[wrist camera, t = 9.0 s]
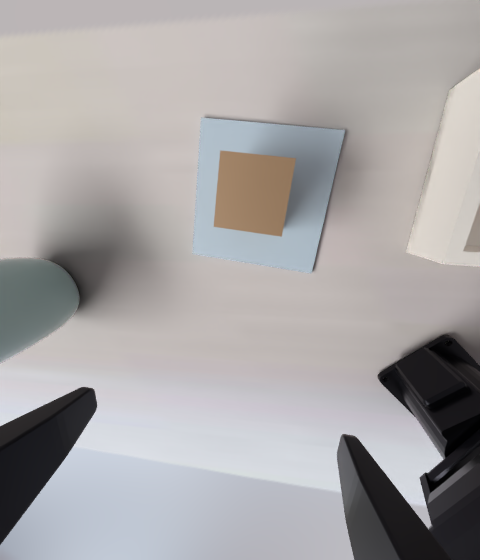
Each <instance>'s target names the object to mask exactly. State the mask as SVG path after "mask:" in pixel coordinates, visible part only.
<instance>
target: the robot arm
mask: <svg viewBox="0 0 480 560" xmlns="http://www.w3.org/2000/svg"><path fill="white" fill-rule="evenodd" d="M448 340H449V341H448ZM446 341H448V342H447V343H445V342H446ZM385 377H387V378H386V379H383V378H385ZM378 379H379V381H380V382H381V383H382V384H383V385H384V386H385V387H386V388H387V389H388V390H389V391H390V392H391V393H392V394H393V395H394V396H395V397H396V398H397V399H398V400H399V401H400V402H401V403H402V404H403V405H404V406H405V407H406V408H407V409H408V410H409V411H410V412H411V413H412V414H413V415H414V416H415V417H416V418H417V420H418V421H419V423H420V424H421V426H422V427H423V429H424V430H425V432H426V433H427V435H428V436H429V438H430V439H431V441H432V442H433V444H434V445H435V447H436V448H437V450H438V451H439V453H440V454H441V456H442V457H443V459H444V460H442V461H441V462H440V463H439V464H438V465H437V466H436V467H434V468H433V469H432V470H431V471H430V472H429V473H424V474H423V475H422V476H421V477H420V481H421V485H422V489H423V493H424V497H425V501H426V505H427V509H428V512H429V516H430V520H431V524H432V526H430V528H429V529H428V528H427V527H426V526H425V524H424V523H423V522H422V520H421V519H420V518H419V517H418V515H417V514H416V513H415V511H414V510H413V509H412V508H411V506H410V505H409V504H408V502H407V501H406V500H405V499H404V497H403V496H402V495H401V493H400V492H399V491H398V490H397V488H396V487H395V486H394V485H393V483H392V482H391V481H390V479H389V478H388V477H387V476H386V474H385V473H384V472H383V470H382V469H381V468H380V467H379V465H378V464H377V463H376V461H375V460H374V459H373V458H372V456H371V455H370V454H369V452H368V451H367V450H366V449H365V447H364V446H363V445H362V443H361V442H360V441H359V440H358V438H357V437H355V436H352V435H347V434H343V435H342V436H341V439H340V443H339V447H338V451H337V462H338V469H339V476H340V483H341V490H342V497H343V504H344V512H345V518H346V524H347V529H348V534H349V537H350V542H351V547H352V551H353V555H354V560H480V366H479V365H478V364H477V363H476V361H475V360H474V359H473V358H472V357H471V356H470V355H469V354H468V353H467V352H466V351H465V350H464V349H463V348H462V347H461V345H460V344H459V343H458V342H457V341H456V340H455V339H453V338H452V337H451V336H449V335H443V336H441V337H439V338H437V339H436V340H434V341H432V342H431V343H429V344H427V345H426V346H424V347H422V348H421V349H419V350H417V351H416V352H414V353H412V354H411V355H409V356H407V357H406V358H404V359H402V360H401V361H399V362H397V363H396V364H394V365H392V366H391V367H389V368H387V369H386V370H384V371H382V372H381V373H379V374H378ZM96 409H97V401H96V396H95V391H94V389H93V388H88V387H81V388H79V389H77V390H75V391H73V392H71V393H68V394H66V395H64V396H62V397H60V398H58V399H56V400H54V401H52V402H50V403H48V404H46V405H44V406H41V407H39V408H37V409H35V410H33V411H31V412H29V413H27V414H25V415H23V416H21V417H19V418H16V419H14V420H12V421H10V422H8V423H6V424H4V425H2V426H0V544H1V543H2V542H3V541H4V539H5V538H6V537H7V535H8V534H9V532H10V531H11V530H12V529H13V527H14V526H15V525H16V523H17V522H18V521H19V519H20V518H21V517H22V515H23V514H24V513H25V511H26V510H27V509H28V507H29V506H30V505H31V503H32V502H33V501H34V499H35V498H36V497H37V495H38V494H39V493H40V491H41V490H42V489H43V487H44V486H45V485H46V483H47V482H48V481H49V479H50V478H51V477H52V475H53V474H54V473H55V471H56V470H57V469H58V467H59V466H60V465H61V463H62V462H63V461H64V459H65V458H66V456H67V455H68V453H69V452H70V450H71V449H72V447H73V446H74V444H75V443H76V441H77V440H78V438H79V436H80V435H81V433H82V432H83V430H84V429H85V427H86V426H87V424H88V422H89V421H90V419H91V418H92V416H93V415H94V413H95V411H96Z"/></svg>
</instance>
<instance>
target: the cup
mask: <svg viewBox="0 0 480 560" xmlns="http://www.w3.org/2000/svg"><path fill="white" fill-rule="evenodd" d="M79 301H80V296H79V291H78V288H77V286H76V284H75V282H74V280H73V278H72V277H71V276H70V274H69V273H68V272H67V271H66V270H65V269H63V268H62V267H61V266H59V265H58V264H56V263H54V262H51V261H48V260H45V259H40V258H26V257H18V258H4V259H0V364H1V363H3V362H5V361H6V360H8V359H10V358H12V357H14V356H15V355H17V354H19V353H21V352H23V351H24V350H26V349H28V348H30V347H31V346H33V345H35V344H36V343H38V342H40V341H41V340H43V339H45V338H46V337H48V336H49V335H51V334H53V333H54V332H55V331H57V330H58V329H60V328H61V327H62V326H63V325H64V324H66V323H67V322H68V321H69V320H70V319H71V318H72V317H73V315H74V314H75V312H76V310H77V309H78V305H79Z"/></svg>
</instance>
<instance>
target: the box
mask: <svg viewBox="0 0 480 560" xmlns="http://www.w3.org/2000/svg"><path fill="white" fill-rule="evenodd" d="M406 252H407V253H410V254H413V255H416V256H419V257H422V258H425V259H428V260H432V261H435V262H438V263H441V264H448V265H462V266H475V267H480V69H478V70H477V71H475V72H474V73H473V74H471V75H470V76H468V77H467V78H466V79H464V80H463V81H461V82H460V83H459V84H457V85H456V86H454V87H453V88H452V89H450V90H449V93H448V97H447V100H446V104H445V108H444V112H443V115H442V119H441V123H440V127H439V130H438V134H437V138H436V141H435V145H434V149H433V153H432V156H431V160H430V164H429V168H428V171H427V175H426V179H425V183H424V186H423V190H422V194H421V197H420V201H419V205H418V209H417V212H416V216H415V220H414V224H413V227H412V231H411V235H410V238H409V242H408V246H407V250H406Z"/></svg>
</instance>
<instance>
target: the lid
mask: <svg viewBox="0 0 480 560" xmlns="http://www.w3.org/2000/svg"><path fill="white" fill-rule="evenodd" d="M344 133H345V130H338V129H326V128H315V127H304V126H292V125H281V124H269V123H258V122H247V121H235V120H224V119H212V118H201V127H200V143H199V159H198V175H197V191H196V206H195V222H194V238H193V254H196V255H202V256H208V257H214V258H220V259H226V260H232V261H238V262H245V263H251V264H257V265H263V266H269V267H275V268H281V269H288V270H294V271H300V272H306V273H312V269H313V265H314V261H315V257H316V252H317V248H318V244H319V240H320V235H321V231H322V227H323V223H324V218H325V214H326V210H327V205H328V201H329V197H330V193H331V188H332V184H333V180H334V176H335V171H336V167H337V163H338V159H339V154H340V150H341V146H342V142H343V137H344Z"/></svg>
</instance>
